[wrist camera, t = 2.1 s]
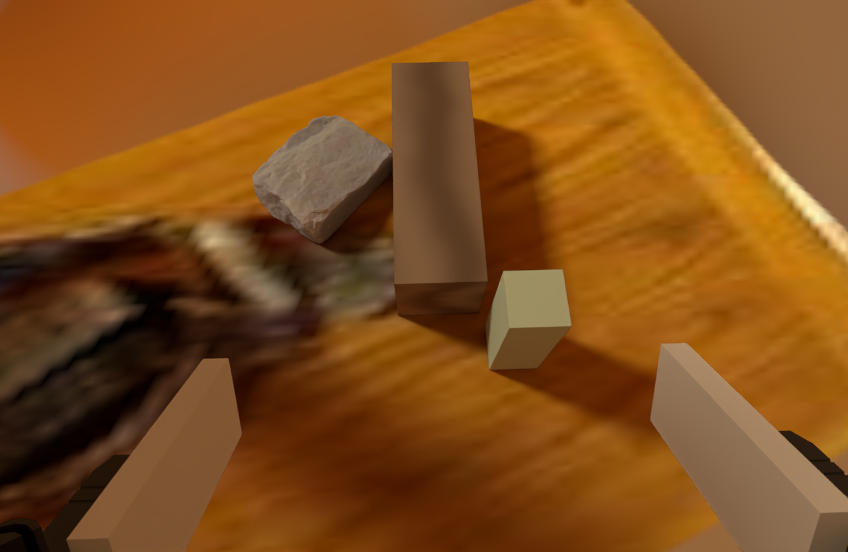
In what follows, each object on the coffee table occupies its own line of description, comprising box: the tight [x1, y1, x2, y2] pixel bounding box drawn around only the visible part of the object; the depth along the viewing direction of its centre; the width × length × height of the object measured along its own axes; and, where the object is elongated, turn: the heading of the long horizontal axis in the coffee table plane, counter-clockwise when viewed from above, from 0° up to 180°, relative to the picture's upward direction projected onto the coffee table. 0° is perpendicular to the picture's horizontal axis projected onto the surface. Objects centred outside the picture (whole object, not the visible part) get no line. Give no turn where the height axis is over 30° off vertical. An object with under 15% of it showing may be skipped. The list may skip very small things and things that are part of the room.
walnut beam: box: [392, 62, 488, 316], centre depth 47 cm, size 7×22×7 cm, turn 2°
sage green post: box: [485, 269, 571, 370], centre depth 39 cm, size 4×4×11 cm
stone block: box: [252, 115, 393, 244], centre depth 50 cm, size 12×5×10 cm
